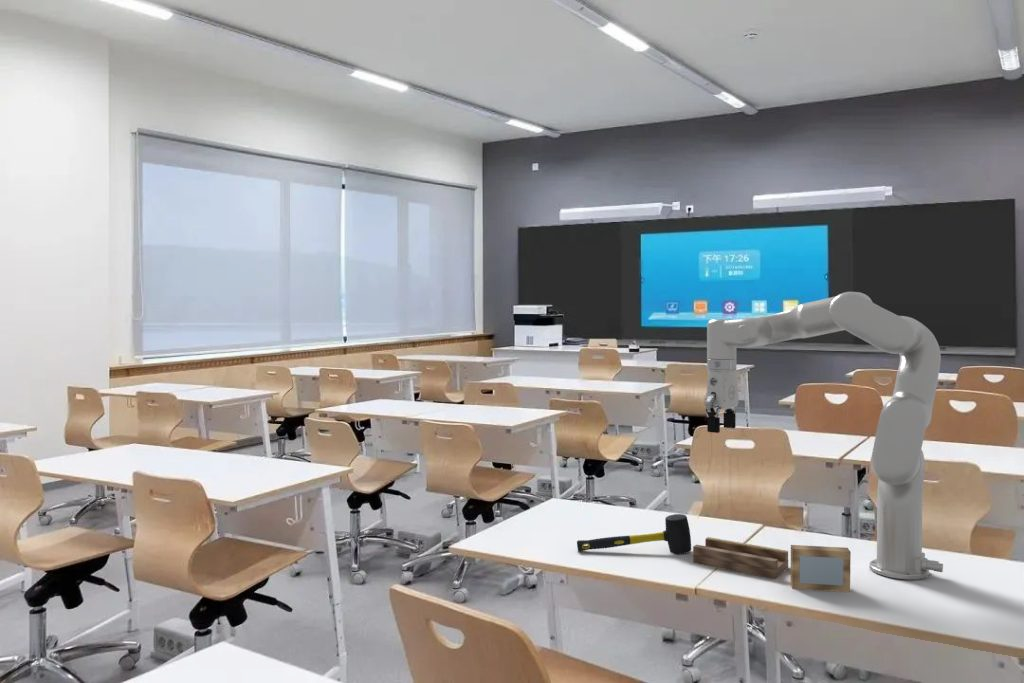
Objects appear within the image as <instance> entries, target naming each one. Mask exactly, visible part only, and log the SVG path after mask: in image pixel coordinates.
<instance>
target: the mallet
mask: <svg viewBox="0 0 1024 683" xmlns="http://www.w3.org/2000/svg"><path fill="white" fill-rule="evenodd" d="M664 521H665V524H664V525H665V530H663V531H660V532H653V533H645V534H634V535H632V534H631V535H621V536H620V535H619V536H609V537H608V536H607V537H600V538H594V539H593V538H592V539H589V540H587V539H584V540H583V539H581V540H580V539H579V540H577V541H576V546H577V551H578V552H584V551H588V550H600V549H601V550H602V549H610V548H618V547H622V546H628V545H629V546H630V545H636V544H643V543H649V542H650V543H651V542H660V541H664V542H667V545H668V549H669V552H670V553H671V554H674V555H686V554H688V553H690V552H691V551H692V536H691V530H690V525H689V524H690V523H689V520H688V517H687V515H685V514H684V513H683V514H682V513H681V514H680V513H675V514H670V515H668V516H666V517H665V520H664Z"/></svg>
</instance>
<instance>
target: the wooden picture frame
mask: <svg viewBox="0 0 1024 683" xmlns="http://www.w3.org/2000/svg"><path fill="white" fill-rule="evenodd" d="M851 556H852V554H851V551H850V549H849V548H848V547H841V546H840V547H839V546H819V545H818V546H817V545H802V544H801V545H798V544H790V579H789V580H790V583H789V584H790V586H791V588H792V589H793V590H808V591H825V592H826V591H827V592H840V593H841V592H843V593H851Z"/></svg>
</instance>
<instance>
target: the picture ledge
mask: <svg viewBox="0 0 1024 683" xmlns="http://www.w3.org/2000/svg"><path fill="white" fill-rule="evenodd" d="M704 544H705V545H701V544H695V545H694V546H692V564H695V565H696V564H697V565H702V566H707V567H712V568H716V569H722V570H726V571H727V570H728V571H731V572H737V573H743V574H747V575H752V576H757V577H764V578H768V579H774V580H775V579H776V578H777V577H779V576H780V575H782V573H784V572H785V571H786V570H787V569H789V550H785V549H779V548H774V547H768V546H762V545H756V544H752V543H746V542H740V541H734V540H727V539H721V538H715V537H711V536H707V537H705V543H704Z"/></svg>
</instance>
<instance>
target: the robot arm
mask: <svg viewBox="0 0 1024 683" xmlns="http://www.w3.org/2000/svg"><path fill="white" fill-rule="evenodd" d="M706 328H707V329H706V371H707V373H708V374H707V383H706V384H707V385H706V400H705V401H704V405H705V412H706V417H707V420H706V422H707V423H706V424H707V426H706V427H707V433H712V434H713V433H715V434H716V433H717V434H718V433H720V431H721V430H720V428H721V426H720V425H721V424H720V423H721V422H720V421H721V419H720V417H719V416H720V412H721V409H722V411H723V410H724V412H723V428H725V429H735V428H737V427H736V421H737V420H736V418H737V415H736V413H737V409H736V407H738V406H739V384H738V376H737V351H738V350H737V348H738V347H740V348H752V347H753V348H755V347H762V346H766V345H767V346H768V345H772V344H776V343H781V342H785V341H791V340H797V339H807V338H813V337H817V336H821V335H822V336H823V335H826V334H832V333H837V332H841V331H846V332H848V333H850V334H851V335H853V336H855V337H857V338H859V339H861V340H863V341H864V342H866V343H868V344H869V345H871V346H873V347H875V348H876V349H879V350H880V351H882V352H885V353H888V354H893V355H898V356H899V366H898V367H897V368H898V370H897V372H896V377H895V378H896V379H895V382H894V383H895V384H894V388H893V392H892V396H891V399H889V400H888V401H887V402H886V403H885V404H884V405H883V407H882V409H881V412H880V414H879V418H878V423H877V428H876V433H875V438H874V442H873V448H872V453H871V456H870V457H871V458H870V459H871V460H870V465H871V469H872V473H873V474H874V475H875V477H877V478H878V480H877V481H878V482H877V503H876V504H877V505H876V508H877V509H876V510H877V511H876V512H877V514H876V525H877V526H876V558H875V559H872V560H871V561H870V562H869V569H870V570H871V571H872V572H874V573H876V574H878V575H881V576H884V577H888V578H892V579H898V580H908V581H909V580H910V581H911V580H912V581H913V580H914V581H915V580H924V579H926V578H928V577H929V576H930V571H933V572H937V573H943V572H944V563H940V562H939V560H938V561H937V560H933V559H932V560H930V559H928V558H926V553H925V552H923V506H924V504H923V502H924V498H923V497H924V478H925V466H926V464H925V454H924V452H923V450H922V446H923V444H924V439H925V434H926V429H927V428H928V426H930V423H931V421H932V415H933V407H934V401H935V397H936V392H937V385H938V381H939V380H938V379H939V375H940V370H941V359H942V357H941V350H940V345H939V343H938V341H937V339H936V337H935V335H934V333H933V332H932V331H931V330H930V329H929V328H928V327H927V326H925V325H924V324H923V323H922V322H920V321H918V320H917V319H915V318H913V317H910V316H905V315H897V314H895V313H894V312H892V311H890V310H888V309H885V308H884V307H881V306H880V305H878V304H876V303H874V302H873V301H872V299H871V298H870V296H869V295H867V294H865V293H863V292H859V291H846V292H842V293H839V294H837V295H836V296H832V297H827V298H822V299H819V300H814V301H810V302H808V301H807V302H803V303H801V304H798V305H796V306H795V307H794V308H791V309H789V310H786V311H782V312H778V313H773V314H769V315H764V316H759V317H744V318H738V319H731V318H714V319H713V318H712V319H710V320H708V322H707V324H706Z"/></svg>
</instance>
